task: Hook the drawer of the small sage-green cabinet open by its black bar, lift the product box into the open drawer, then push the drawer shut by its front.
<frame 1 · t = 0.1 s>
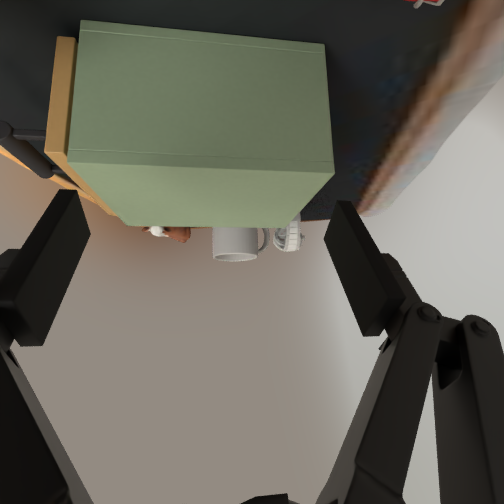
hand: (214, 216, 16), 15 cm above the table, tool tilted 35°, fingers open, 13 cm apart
drawer: (151, 147, 28), point 5 cm above the table, slide at 0.5 cm
cabinet: (209, 99, 30), on the table
watch: (287, 184, 51), on the table
mug: (238, 208, 63), on the table
bull figurine: (169, 196, 55), on the table
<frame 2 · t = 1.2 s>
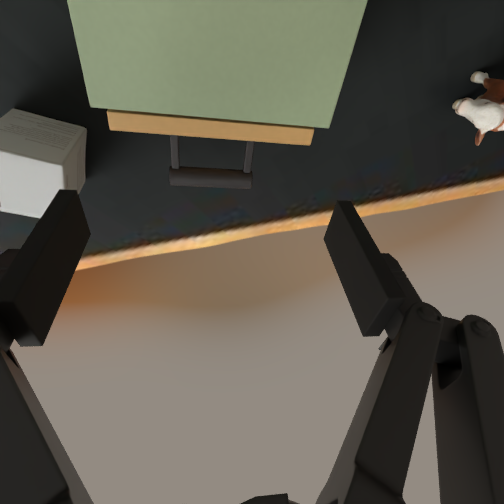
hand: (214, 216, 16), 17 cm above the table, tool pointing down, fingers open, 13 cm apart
drawer: (217, 31, 21), point 5 cm above the table, slide at 0.5 cm
product box: (53, 146, 30), on the table
bull figurine: (487, 80, 31), on the table
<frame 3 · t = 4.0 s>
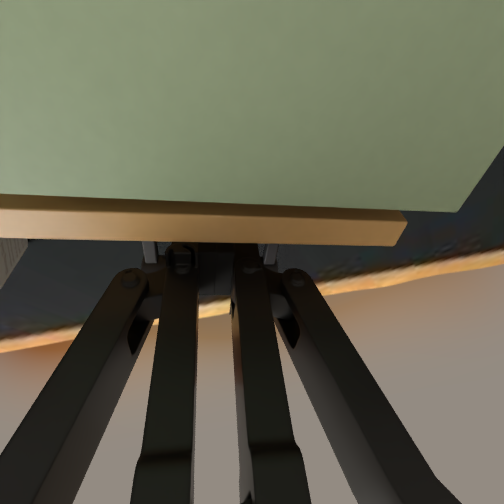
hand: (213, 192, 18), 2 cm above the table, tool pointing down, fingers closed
drawer: (220, 34, 10), point 5 cm above the table, slide at 1.1 cm, touching gripper
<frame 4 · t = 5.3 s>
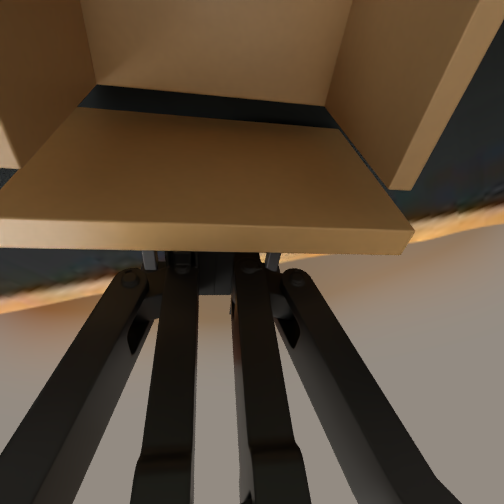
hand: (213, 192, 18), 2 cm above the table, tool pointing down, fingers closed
drawer: (222, 37, 10), point 5 cm above the table, slide at 7.5 cm, touching gripper
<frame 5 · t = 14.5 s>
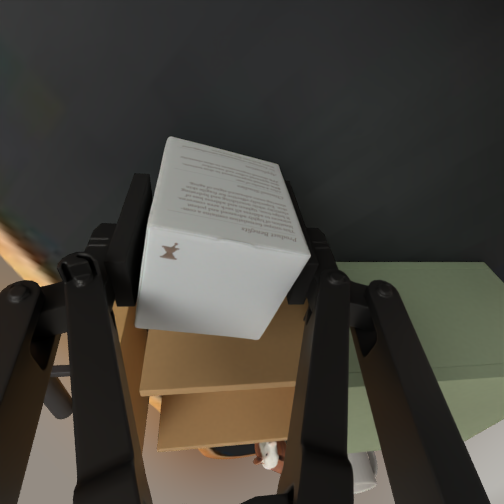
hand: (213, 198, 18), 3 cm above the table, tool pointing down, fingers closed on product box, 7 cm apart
drawer: (191, 369, 26), point 5 cm above the table, slide at 13.5 cm
cabinet: (368, 311, 33), on the table
mug: (332, 420, 56), on the table
product box: (213, 194, 18), point 3 cm above the table, touching gripper
bull figurine: (266, 413, 50), on the table
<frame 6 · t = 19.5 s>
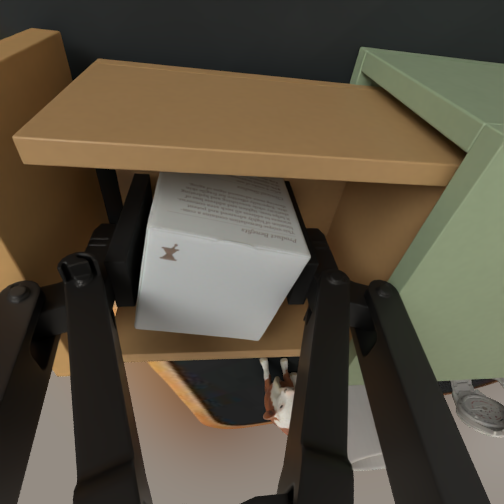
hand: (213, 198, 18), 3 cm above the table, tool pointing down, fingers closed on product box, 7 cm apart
drawer: (163, 223, 15), point 5 cm above the table, slide at 13.8 cm
cabinet: (441, 183, 22), on the table
watch: (449, 331, 38), on the table
mug: (358, 380, 45), on the table
product box: (213, 195, 18), point 2 cm above the table, touching gripper
bull figurine: (278, 364, 39), on the table
when the fingers open (2 cm above the table, at t = 20.9 s): product box moves 1 cm, resting on drawer.
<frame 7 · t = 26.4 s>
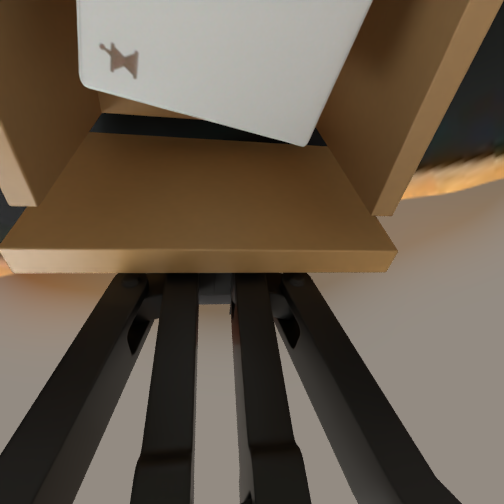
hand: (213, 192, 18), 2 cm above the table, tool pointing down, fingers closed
drawer: (217, 76, 11), point 5 cm above the table, slide at 13.0 cm, touching product box
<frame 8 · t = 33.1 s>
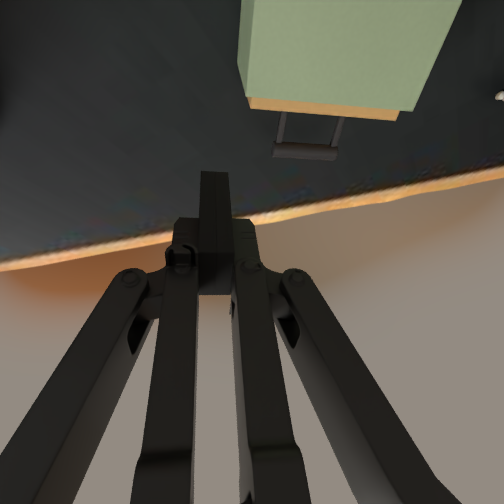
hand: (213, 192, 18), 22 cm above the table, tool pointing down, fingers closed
drawer: (328, 33, 27), point 5 cm above the table, slide at 0.0 cm, touching product box
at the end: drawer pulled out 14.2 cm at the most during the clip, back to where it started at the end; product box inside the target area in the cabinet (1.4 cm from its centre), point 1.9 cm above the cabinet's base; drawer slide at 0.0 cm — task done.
